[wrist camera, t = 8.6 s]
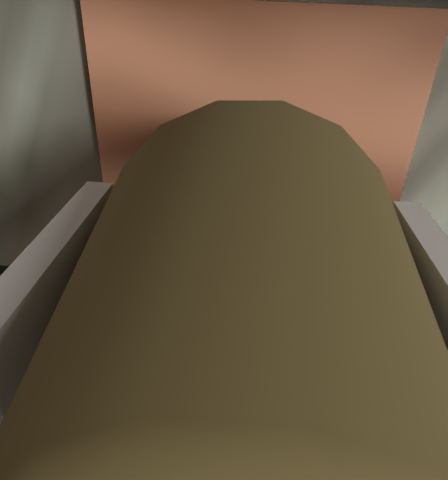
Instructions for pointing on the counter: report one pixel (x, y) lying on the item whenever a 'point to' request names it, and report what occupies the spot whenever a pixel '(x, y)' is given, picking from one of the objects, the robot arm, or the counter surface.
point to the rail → (263, 68)
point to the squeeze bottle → (238, 319)
